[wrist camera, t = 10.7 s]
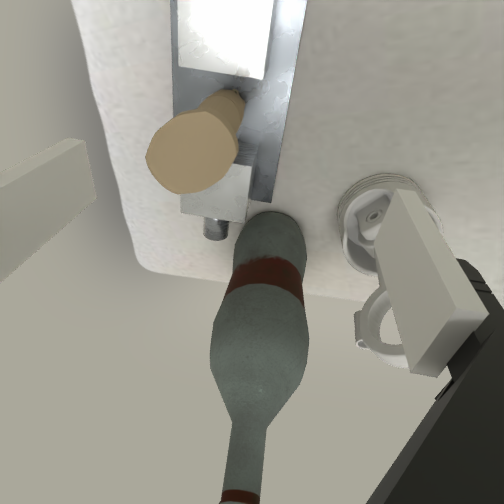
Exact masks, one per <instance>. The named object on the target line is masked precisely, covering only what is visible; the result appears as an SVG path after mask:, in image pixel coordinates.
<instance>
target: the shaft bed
mask: <svg viewBox="0 0 504 504" xmlns="http://www.w3.org/2000/svg"><path fill="white" fill-rule="evenodd" d="M306 4H307V0H170V7H171V44H172V81H173V118H174V117H175V116H176V115H178V114H179V113H181V112H184V111H189V110H194V109H197V108H198V107H199V105H200V104H201V103H202V102H203V101H204V100H205V99H206V98H207V97H208V96H210V95H211V94H213V93H215V92H217V91H219V90H221V89H224V90H233V89H236V90H238V91H239V95H240V97H241V98H242V99H243V100H244V101H245V108H244V116H243V120H242V123H241V125H240V127H239V129H238V131H237V133H236V137H237V140H238V149H239V151H238V154H237V156H236V158H235V159H234V161H233V163H232V165H231V167H230V168H229V170H228V172H227V173H226V174H225V176H224V177H223V178H222V179H221V180H219V181H218V182H217V183H215V184H213V185H212V186H210V187H209V188H207V189H205V190H203V191H200V192H196V193H187V194H181V213H185V214H191V215H196V216H202V217H204V229H203V234H204V236H205V237H206V238H208V239H210V240H214V241H219V240H223V239H225V238H227V236H228V230H229V221H232V222H238V223H245V220H246V216H247V212H248V208H249V204H250V200H256V201H262V202H268V203H271V200H272V194H273V188H274V183H275V177H276V172H277V166H278V161H279V155H280V149H281V144H282V138H283V133H284V127H285V121H286V116H287V110H288V105H289V99H290V93H291V88H292V82H293V77H294V71H295V66H296V60H297V54H298V49H299V43H300V38H301V32H302V26H303V21H304V15H305V10H306Z"/></svg>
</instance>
